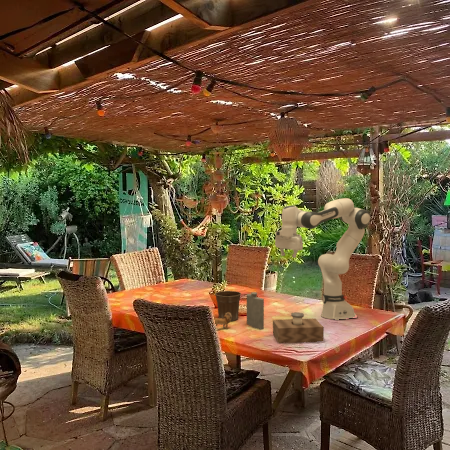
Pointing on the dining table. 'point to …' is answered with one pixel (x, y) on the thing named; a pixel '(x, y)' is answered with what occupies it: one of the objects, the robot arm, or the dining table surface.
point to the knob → (297, 318)
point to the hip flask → (255, 311)
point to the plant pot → (228, 303)
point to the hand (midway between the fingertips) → (288, 256)
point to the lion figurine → (224, 320)
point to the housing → (298, 331)
